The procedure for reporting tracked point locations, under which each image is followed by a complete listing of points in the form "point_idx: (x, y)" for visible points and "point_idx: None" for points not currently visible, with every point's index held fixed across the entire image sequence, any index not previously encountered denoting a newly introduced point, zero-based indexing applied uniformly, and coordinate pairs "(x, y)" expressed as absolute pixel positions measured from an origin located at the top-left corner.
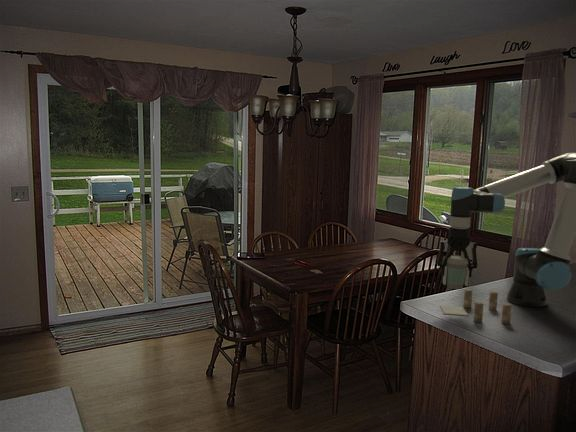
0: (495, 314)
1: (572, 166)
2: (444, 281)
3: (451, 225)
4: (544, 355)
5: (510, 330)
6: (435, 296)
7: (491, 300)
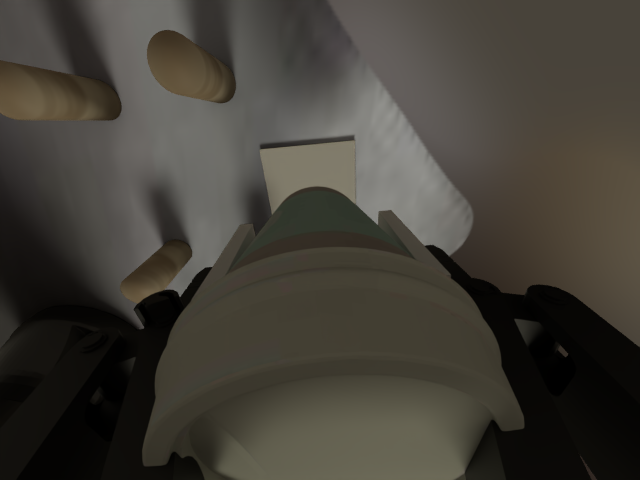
0: (160, 200)
1: None
2: (395, 217)
3: None
4: None
5: None
6: None
7: (163, 260)
